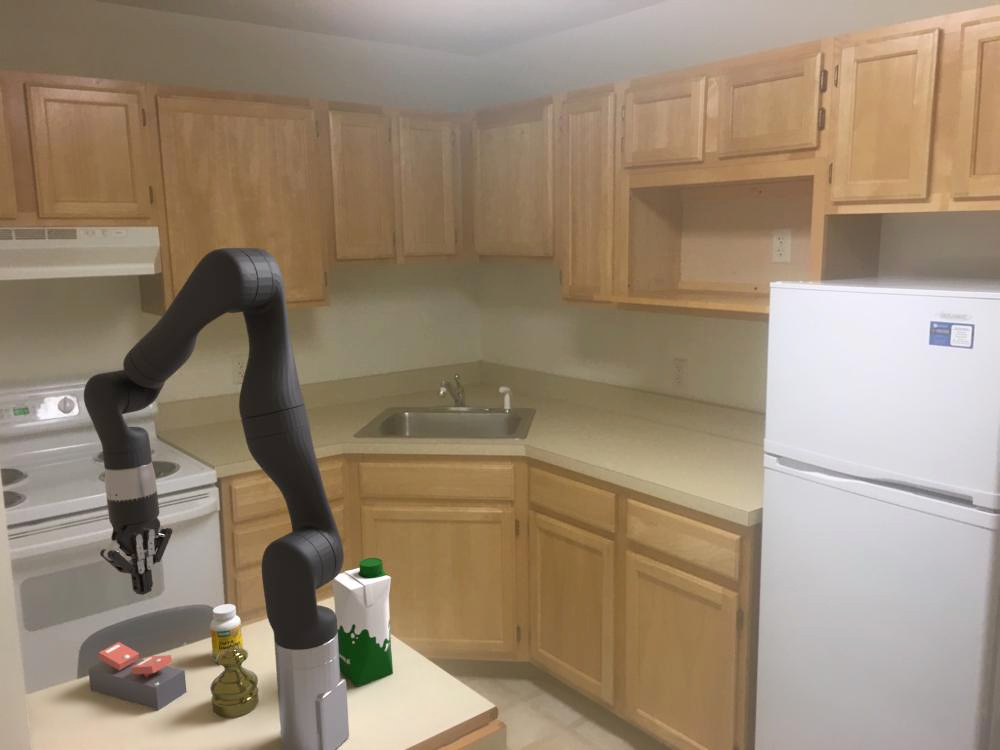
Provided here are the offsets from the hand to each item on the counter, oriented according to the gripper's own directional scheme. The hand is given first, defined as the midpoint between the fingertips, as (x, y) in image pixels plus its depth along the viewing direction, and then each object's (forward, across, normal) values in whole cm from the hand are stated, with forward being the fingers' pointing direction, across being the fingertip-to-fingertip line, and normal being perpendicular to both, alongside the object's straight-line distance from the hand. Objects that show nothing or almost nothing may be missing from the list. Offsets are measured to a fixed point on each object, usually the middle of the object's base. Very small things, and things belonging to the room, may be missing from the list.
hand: (143, 592), depth 131 cm
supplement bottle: (+19, +15, -2) cm, 24 cm away
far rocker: (+13, 0, +8) cm, 15 cm away
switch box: (+18, 0, +4) cm, 19 cm away
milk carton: (+20, +20, -29) cm, 40 cm away
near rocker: (+13, 0, 0) cm, 13 cm away
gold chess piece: (+19, +3, -15) cm, 24 cm away
